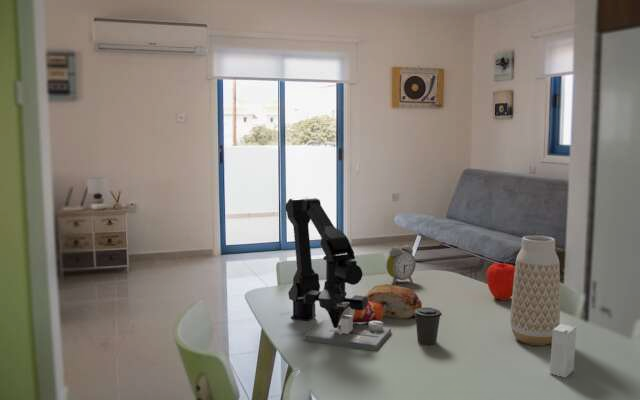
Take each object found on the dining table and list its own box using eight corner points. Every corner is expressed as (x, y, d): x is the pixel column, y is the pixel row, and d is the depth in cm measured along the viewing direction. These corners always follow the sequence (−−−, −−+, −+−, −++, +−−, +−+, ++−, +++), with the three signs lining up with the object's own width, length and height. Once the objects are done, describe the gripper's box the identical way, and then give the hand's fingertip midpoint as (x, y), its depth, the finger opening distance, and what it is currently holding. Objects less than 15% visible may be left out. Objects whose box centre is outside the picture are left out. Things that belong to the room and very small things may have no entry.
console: (304, 340, 182) (304, 328, 182) (324, 323, 197) (324, 312, 196) (375, 350, 174) (376, 338, 173) (390, 332, 189) (391, 321, 188)
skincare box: (557, 367, 162) (559, 322, 161) (574, 371, 159) (577, 326, 158) (548, 374, 158) (551, 328, 156) (566, 379, 155) (569, 332, 153)
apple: (522, 297, 227) (524, 261, 225) (514, 305, 217) (515, 268, 215) (491, 292, 233) (492, 258, 232) (481, 300, 223) (482, 264, 222)
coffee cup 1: (389, 318, 195) (354, 316, 185) (372, 329, 199) (337, 328, 190) (380, 294, 199) (346, 291, 190) (365, 306, 204) (330, 304, 194)
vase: (557, 335, 187) (562, 235, 183) (559, 350, 174) (565, 244, 170) (510, 329, 191) (514, 232, 187) (508, 345, 178) (513, 241, 174)
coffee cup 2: (424, 349, 175) (425, 315, 174) (407, 340, 182) (408, 307, 181) (446, 344, 179) (447, 311, 177) (429, 335, 186) (430, 303, 185)
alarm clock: (393, 285, 243) (394, 248, 241) (382, 282, 248) (383, 245, 246) (415, 281, 249) (416, 245, 247) (404, 278, 255) (405, 242, 253)
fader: (340, 332, 183) (340, 317, 182) (345, 328, 186) (345, 313, 186) (348, 333, 182) (348, 318, 181) (352, 329, 186) (352, 314, 185)
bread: (355, 315, 207) (355, 286, 205) (372, 300, 223) (372, 273, 222) (414, 323, 199) (415, 292, 197) (427, 307, 215) (428, 279, 214)
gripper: (296, 280, 180) (296, 331, 181) (356, 286, 172) (356, 340, 174) (311, 271, 190) (311, 320, 192) (368, 277, 183) (368, 328, 185)
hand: (335, 327), depth 185 cm, fingers closed
